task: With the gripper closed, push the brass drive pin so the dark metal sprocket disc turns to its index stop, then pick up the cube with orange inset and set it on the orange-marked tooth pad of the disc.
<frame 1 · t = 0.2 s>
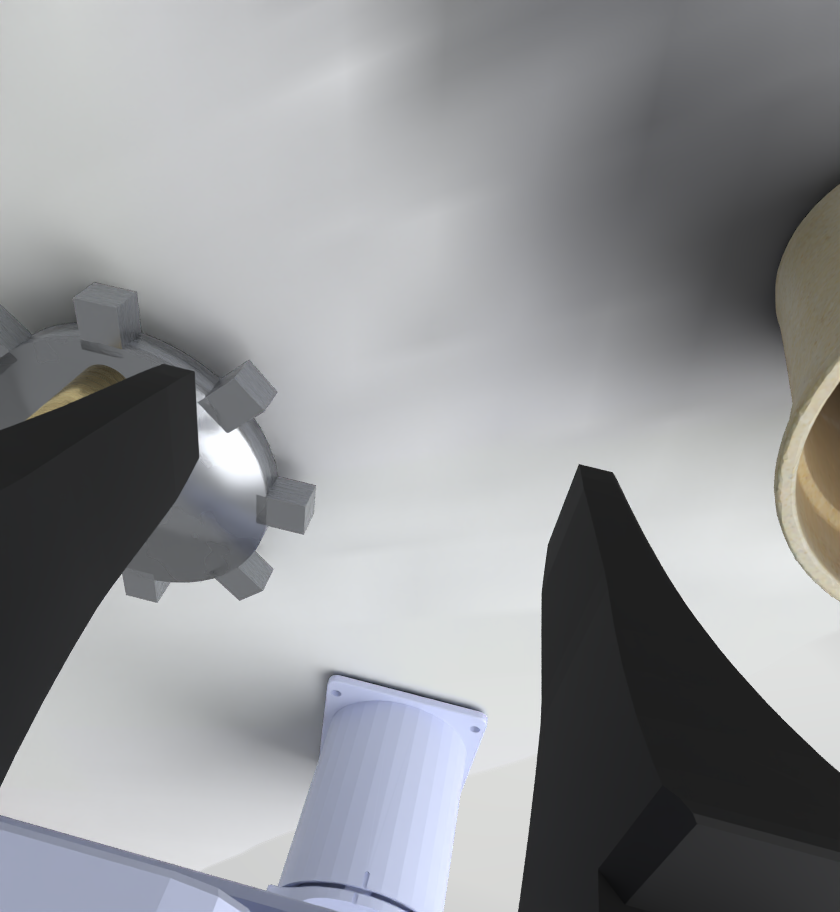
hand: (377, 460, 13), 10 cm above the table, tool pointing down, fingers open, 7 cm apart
sprocket: (107, 493, 24), point 3 cm above the table, hinge at 0.0°
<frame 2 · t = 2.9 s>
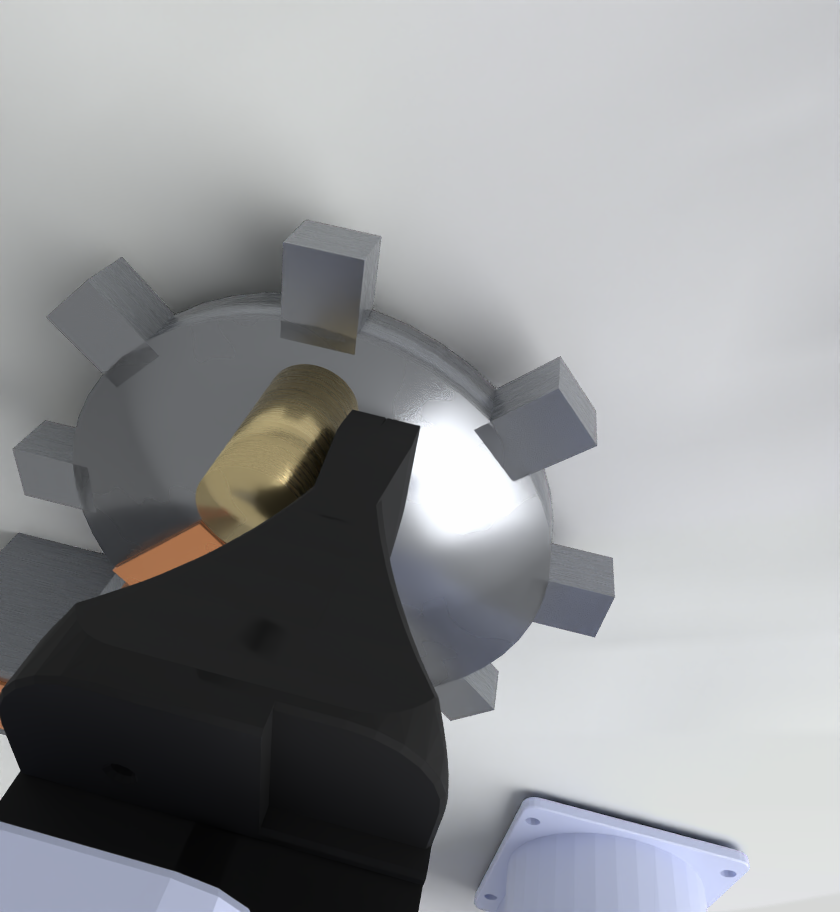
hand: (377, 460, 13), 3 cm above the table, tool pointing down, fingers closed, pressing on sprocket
sprocket: (289, 575, 15), point 3 cm above the table, hinge at 0.1°, touching gripper
cube with orange inset: (81, 582, 22), on the table
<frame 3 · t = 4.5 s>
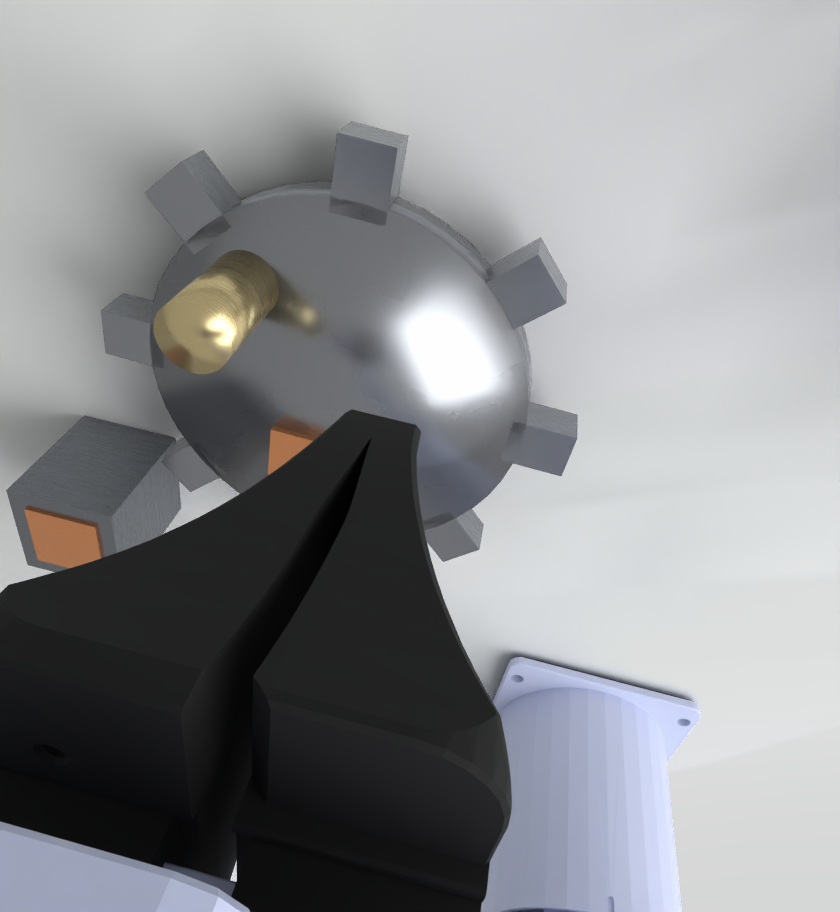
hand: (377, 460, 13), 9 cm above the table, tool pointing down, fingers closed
sprocket: (323, 413, 19), point 3 cm above the table, hinge at 43.4°
cube with orange inset: (135, 462, 26), on the table
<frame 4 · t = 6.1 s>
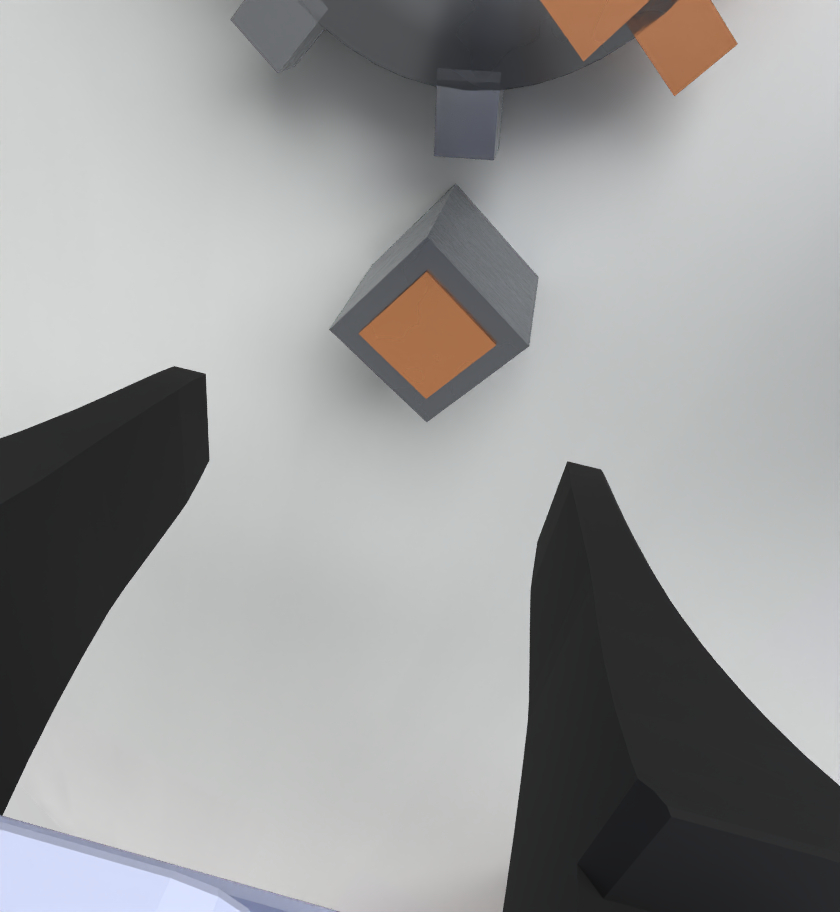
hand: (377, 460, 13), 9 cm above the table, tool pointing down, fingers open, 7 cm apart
cube with orange inset: (453, 270, 20), on the table
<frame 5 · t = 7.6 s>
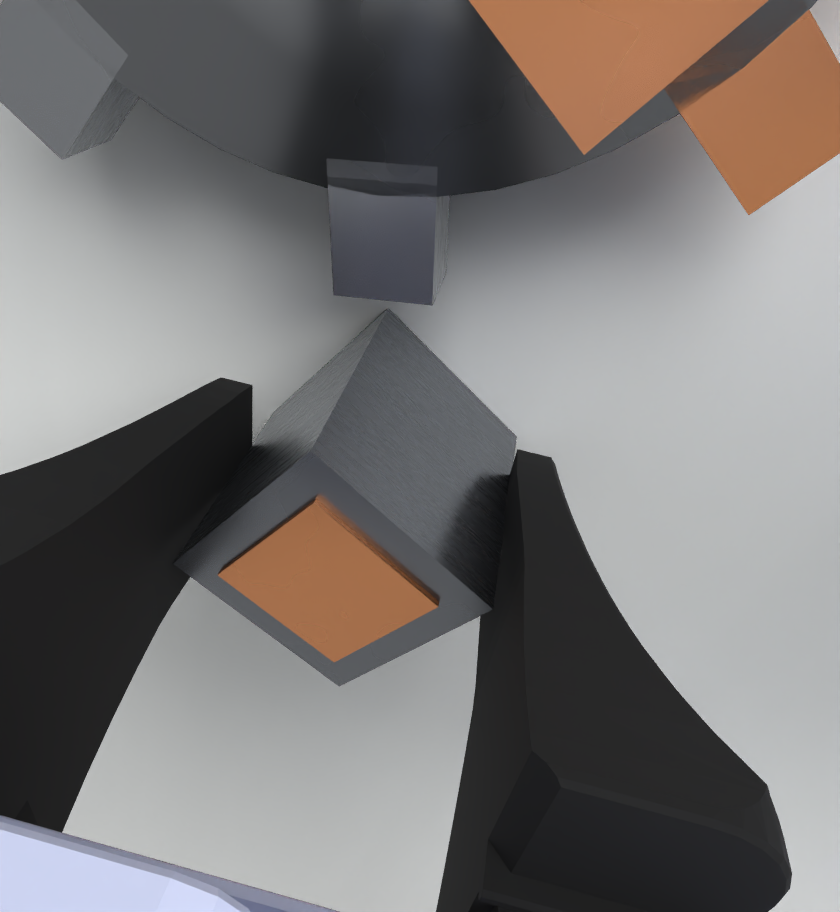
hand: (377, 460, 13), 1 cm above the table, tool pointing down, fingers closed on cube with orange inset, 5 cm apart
cube with orange inset: (392, 423, 14), on the table, touching gripper
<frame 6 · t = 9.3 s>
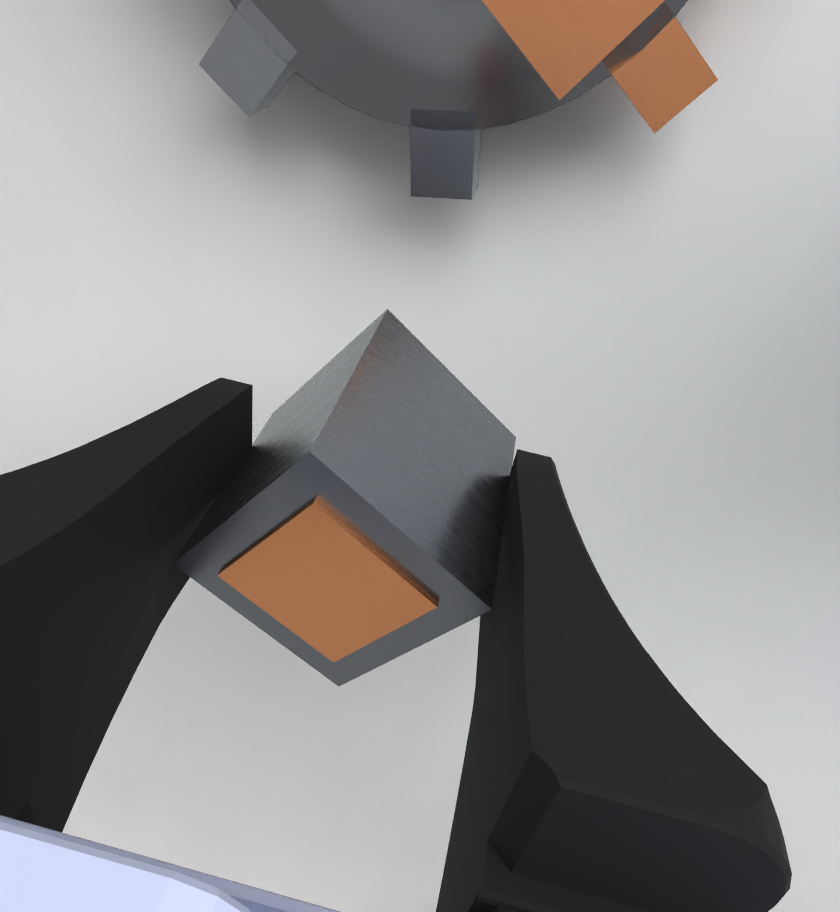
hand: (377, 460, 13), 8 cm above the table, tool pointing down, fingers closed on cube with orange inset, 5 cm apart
cube with orange inset: (391, 424, 14), point 7 cm above the table, touching gripper
when the fingers open (5 cm above the table, at t = 11.1 s): cube with orange inset stays where it is, resting on sprocket.
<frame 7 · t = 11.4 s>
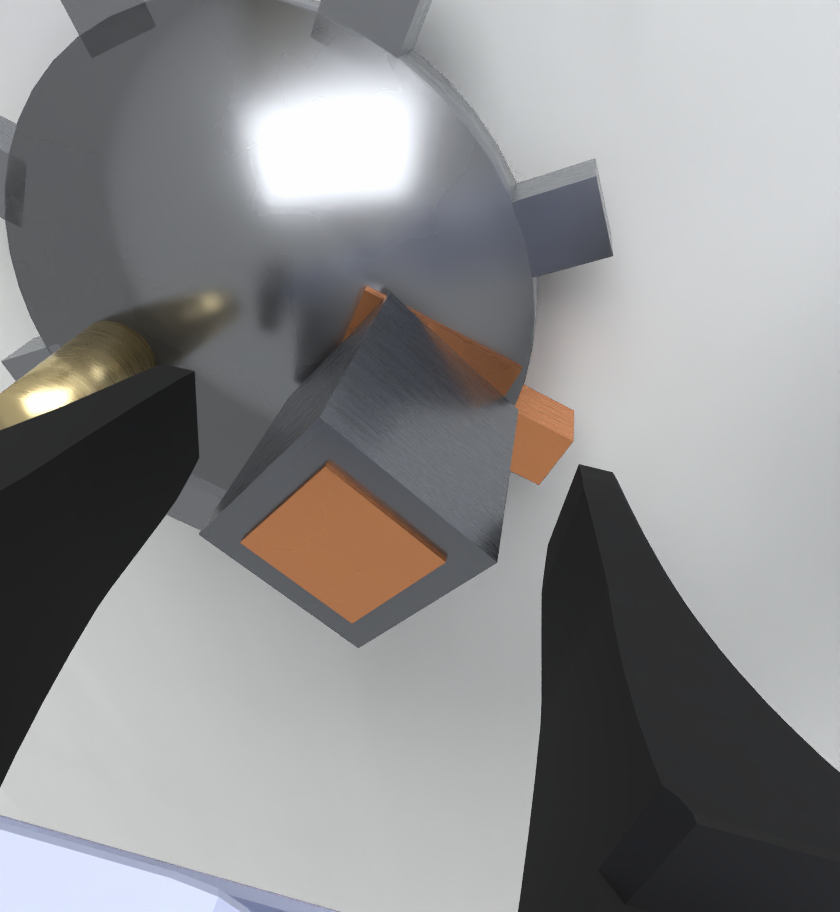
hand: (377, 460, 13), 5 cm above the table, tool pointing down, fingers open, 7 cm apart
sprocket: (243, 338, 13), point 3 cm above the table, hinge at 43.4°, touching cube with orange inset
cube with orange inset: (399, 403, 14), point 3 cm above the table, touching sprocket
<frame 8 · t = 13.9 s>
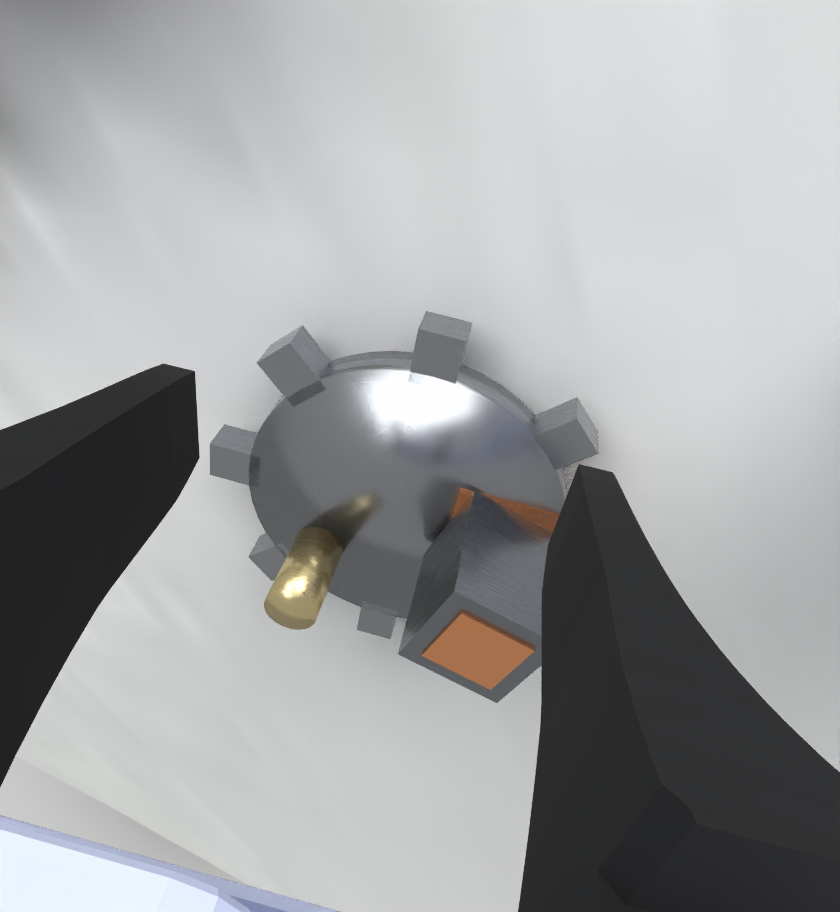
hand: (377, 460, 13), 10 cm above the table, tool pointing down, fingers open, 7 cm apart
sprocket: (395, 531, 23), point 3 cm above the table, hinge at 43.4°, touching cube with orange inset
cube with orange inset: (492, 546, 23), point 3 cm above the table, touching sprocket
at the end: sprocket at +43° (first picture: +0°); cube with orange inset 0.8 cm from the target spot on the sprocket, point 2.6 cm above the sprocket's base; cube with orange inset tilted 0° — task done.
